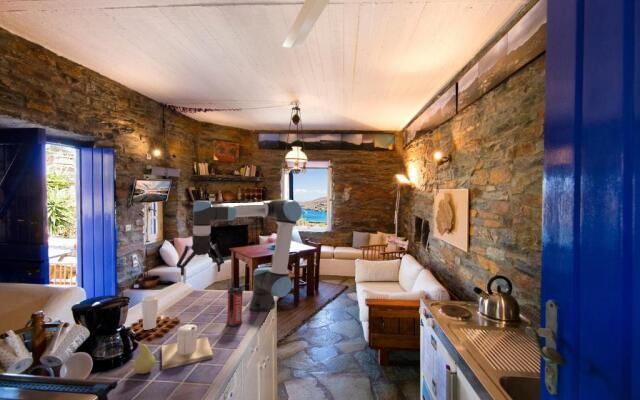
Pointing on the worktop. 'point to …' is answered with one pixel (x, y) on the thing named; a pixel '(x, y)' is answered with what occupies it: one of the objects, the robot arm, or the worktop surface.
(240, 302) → the speaker
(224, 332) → the worktop surface
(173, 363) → the board
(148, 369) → the fruit
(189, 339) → the white domed knob
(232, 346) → the worktop surface
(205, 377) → the worktop surface
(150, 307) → the drinking glass
